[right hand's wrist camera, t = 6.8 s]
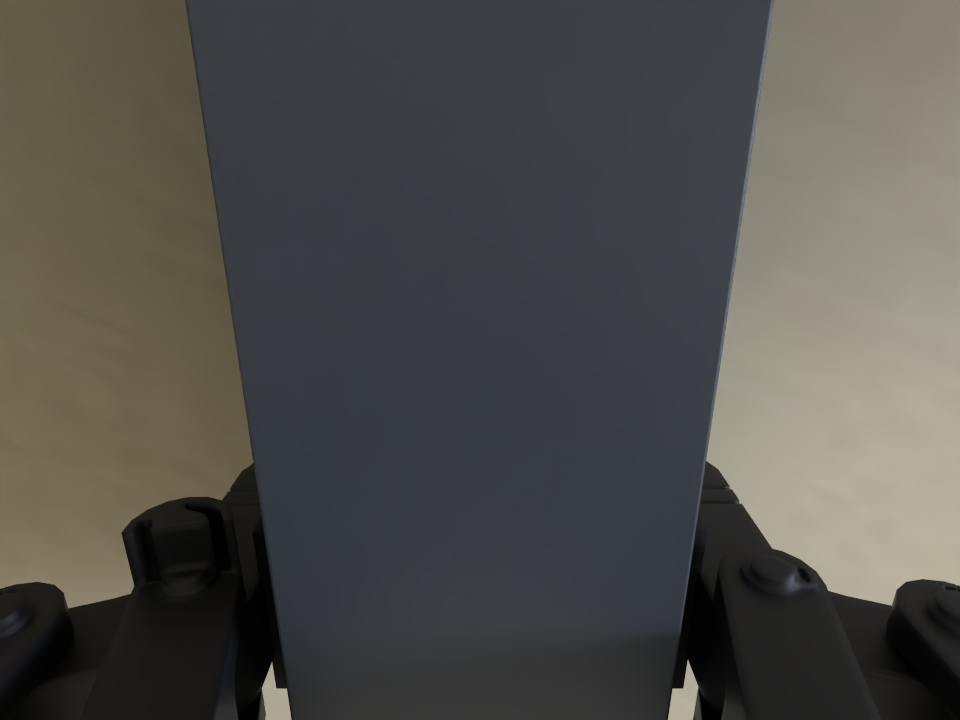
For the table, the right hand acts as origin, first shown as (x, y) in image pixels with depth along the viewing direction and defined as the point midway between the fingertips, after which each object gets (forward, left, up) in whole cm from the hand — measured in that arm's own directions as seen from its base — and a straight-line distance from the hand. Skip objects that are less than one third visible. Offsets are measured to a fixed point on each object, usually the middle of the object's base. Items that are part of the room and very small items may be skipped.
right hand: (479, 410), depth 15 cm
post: (-13, +22, -1) cm, 26 cm away
